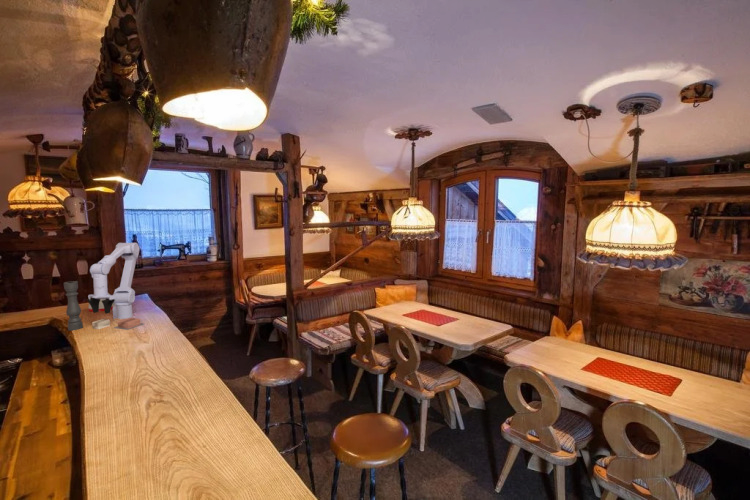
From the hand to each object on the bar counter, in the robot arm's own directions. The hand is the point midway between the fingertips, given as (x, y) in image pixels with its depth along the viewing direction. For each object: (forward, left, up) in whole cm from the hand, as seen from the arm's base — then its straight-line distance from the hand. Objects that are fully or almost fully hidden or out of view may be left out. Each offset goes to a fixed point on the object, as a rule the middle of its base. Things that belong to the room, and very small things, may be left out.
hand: (101, 312), depth 193 cm
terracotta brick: (+11, +6, -8) cm, 15 cm away
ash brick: (-1, 0, -9) cm, 9 cm away
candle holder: (-16, -3, -9) cm, 19 cm away
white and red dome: (-41, +29, -10) cm, 51 cm away
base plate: (+11, +6, -9) cm, 15 cm away
